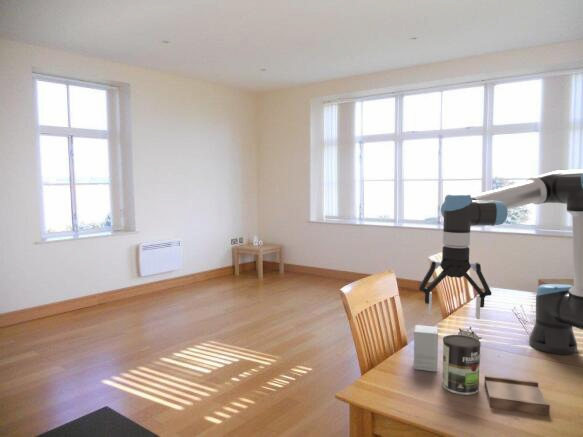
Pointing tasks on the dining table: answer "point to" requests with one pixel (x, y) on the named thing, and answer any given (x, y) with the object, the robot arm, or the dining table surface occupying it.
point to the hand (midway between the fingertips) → (453, 316)
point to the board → (515, 395)
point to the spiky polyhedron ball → (468, 333)
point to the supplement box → (425, 348)
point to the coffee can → (461, 364)
